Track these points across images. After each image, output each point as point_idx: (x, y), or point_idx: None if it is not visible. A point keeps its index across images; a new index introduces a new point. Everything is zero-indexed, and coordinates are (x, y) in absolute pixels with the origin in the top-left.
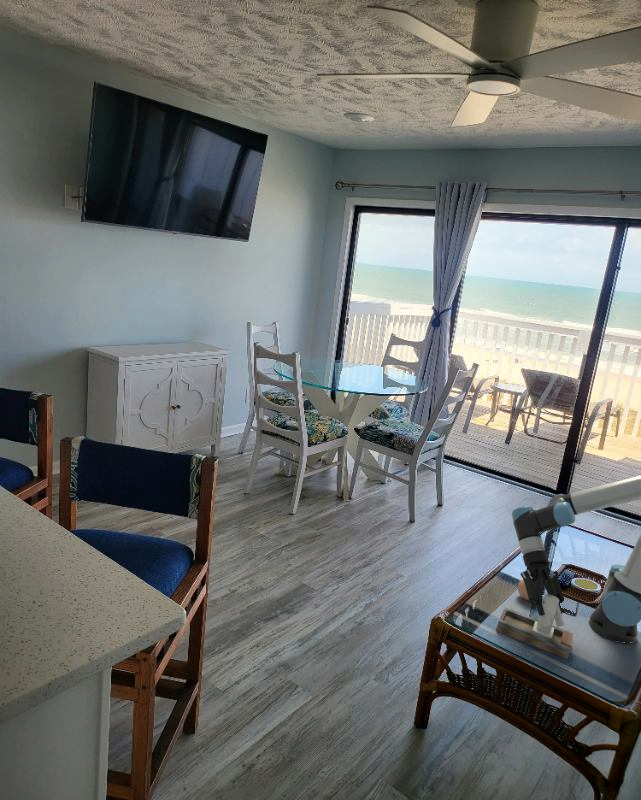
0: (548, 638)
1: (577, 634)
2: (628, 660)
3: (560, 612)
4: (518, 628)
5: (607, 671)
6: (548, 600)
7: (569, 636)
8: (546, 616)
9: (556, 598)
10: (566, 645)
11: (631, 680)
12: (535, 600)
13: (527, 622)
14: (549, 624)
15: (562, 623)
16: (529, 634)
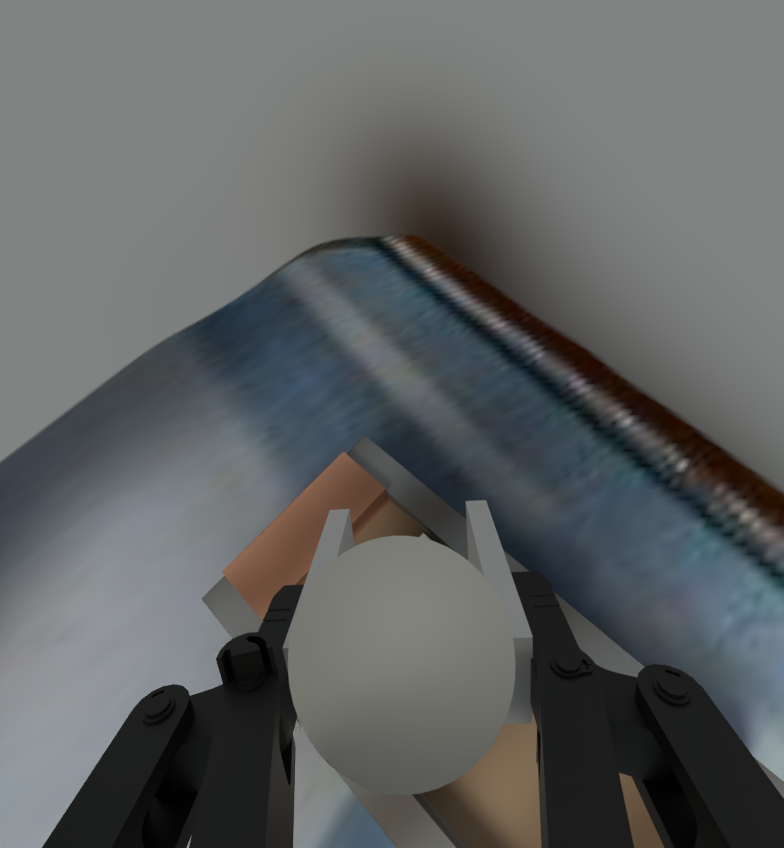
0: (445, 537)
1: (91, 708)
2: (35, 458)
3: (312, 574)
4: (641, 667)
5: (231, 384)
6: (494, 598)
7: (275, 545)
8: (499, 544)
9: (321, 639)
10: (364, 467)
11: (174, 339)
12: (673, 679)
13: (454, 832)
14: (481, 503)
15: (343, 514)
16: (562, 601)
